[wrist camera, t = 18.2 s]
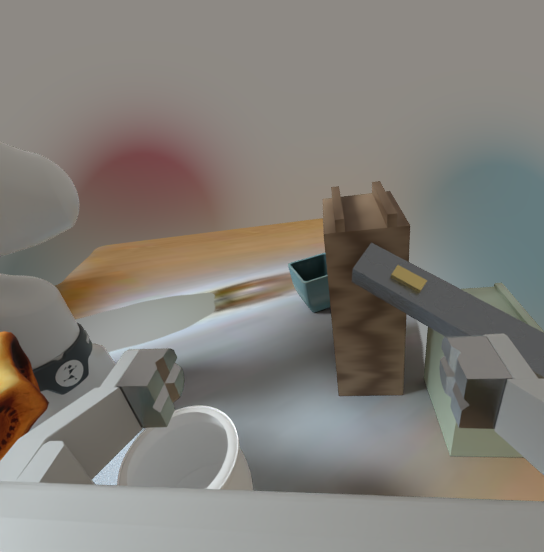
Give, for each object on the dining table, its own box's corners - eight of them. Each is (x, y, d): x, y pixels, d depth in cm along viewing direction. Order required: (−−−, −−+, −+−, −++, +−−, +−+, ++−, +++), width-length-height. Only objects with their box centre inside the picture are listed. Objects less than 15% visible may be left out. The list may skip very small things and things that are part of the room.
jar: (228, 469, 43) (196, 387, 36) (287, 531, 36) (262, 445, 29) (153, 543, 37) (96, 463, 30) (206, 634, 31) (150, 559, 23)
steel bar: (564, 364, 31) (596, 355, 27) (548, 397, 30) (578, 392, 26) (368, 257, 38) (371, 239, 35) (351, 281, 38) (352, 265, 34)
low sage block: (450, 456, 40) (466, 355, 33) (423, 378, 51) (431, 287, 43) (525, 457, 39) (561, 352, 31) (482, 377, 49) (501, 282, 41)
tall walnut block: (338, 395, 50) (322, 221, 37) (335, 341, 61) (321, 188, 47) (403, 395, 49) (410, 211, 35) (388, 338, 59) (390, 180, 45)
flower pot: (349, 308, 68) (347, 269, 64) (308, 322, 66) (303, 282, 62) (329, 287, 76) (326, 251, 71) (292, 299, 74) (286, 263, 69)
